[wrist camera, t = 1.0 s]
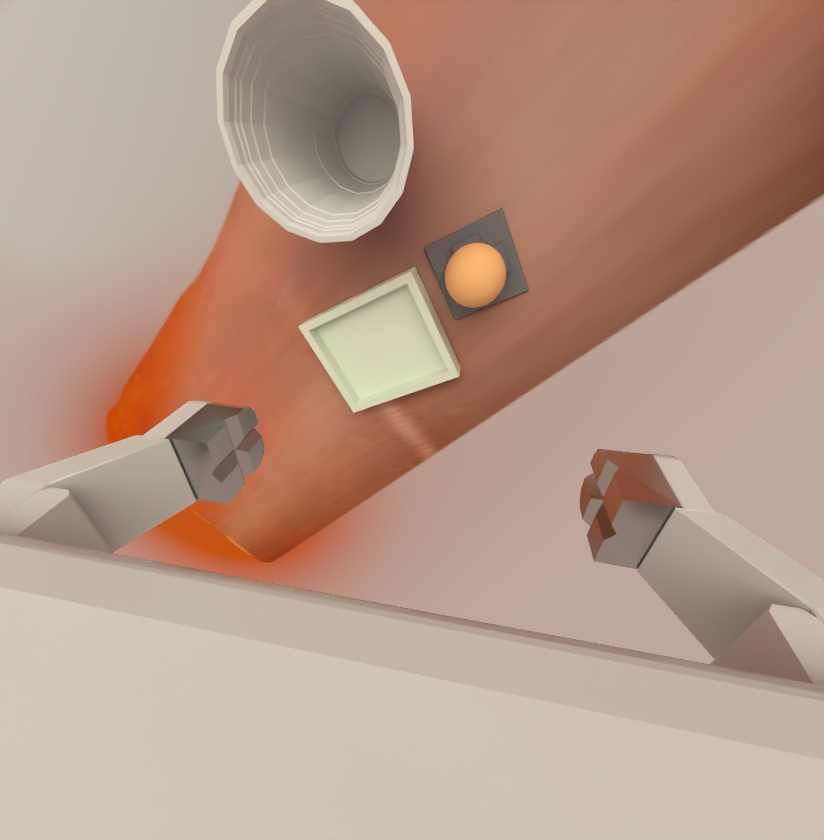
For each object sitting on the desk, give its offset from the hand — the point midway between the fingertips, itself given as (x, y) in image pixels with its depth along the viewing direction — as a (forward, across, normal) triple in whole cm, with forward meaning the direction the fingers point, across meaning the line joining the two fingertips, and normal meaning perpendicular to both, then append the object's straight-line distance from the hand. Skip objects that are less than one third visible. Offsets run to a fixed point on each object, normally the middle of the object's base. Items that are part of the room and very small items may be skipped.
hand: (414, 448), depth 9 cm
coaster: (+28, -1, +2) cm, 28 cm away
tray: (+28, +8, +10) cm, 31 cm away
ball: (+28, -1, +2) cm, 28 cm away
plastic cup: (+28, +8, -7) cm, 31 cm away
